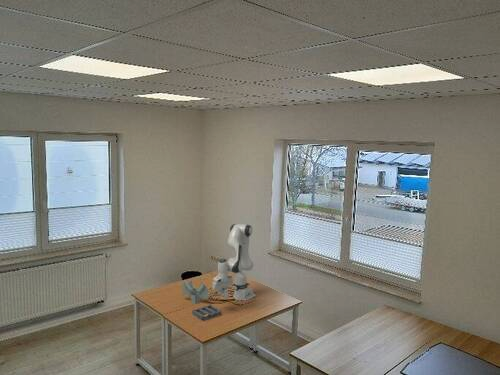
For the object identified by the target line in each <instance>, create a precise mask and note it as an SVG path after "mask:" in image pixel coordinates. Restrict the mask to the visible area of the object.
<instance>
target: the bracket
mask: <svg viewBox="0 0 500 375" xmlns="http://www.w3.org/2000/svg"><path fill="white" fill-rule="evenodd" d="M181 285H182V290H181V291H182V293H181V294H182V295H183V296H187V297H190V304H194V305H195V304H199V303H201V301H202V300H203V299H204V300H209V291H208V290H209V288H208V287H207V286H206V285H205V284H204V282H202V281H201V282H200V285H199V286H198V287H196V286H194V284H193V281H192V280H190V281H188V280H186V281H184V282H182V284H181Z"/></svg>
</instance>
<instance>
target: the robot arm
mask: <svg viewBox="0 0 500 375" xmlns="http://www.w3.org/2000/svg"><path fill="white" fill-rule="evenodd" d="M229 228H230V229H229V231H230V233H229V235H228V239H227V245H228V247H230V248H231V249H232V250H233V251H236V254H235V257H230V258H228V259H227V258H221V259H219V260H218V261H217V262H218V263H217V272H218V273H217V275H216V276H215V277H213V278H212V287H211V288H212V290H213V291H218V290H219V291H220V293H222V291H221V289H222V288H226V289H228V287H229V288H230V287H232V286H234V287H233V288H234V291H233V297H234V298H235V299H234V298H233V297H232V298H233V299H234V300H236V301H245V302H246V301H249V300H250V299H252V298H255V297H256V293H254V290H253V289H252V288H251V287H250V283H249V282H247V275H246V274H245V273H244V272H243V271H246V272H247V271H252V270H253V268H254V261H253V260H252V258H250V255H249V246H250V237H251V235H252V234H253V227H252V225H250V224H243V223H238V224H237V223H234V224H231V226H230V227H229ZM228 273H233V275H229V274H228ZM233 276H234V279H233Z"/></svg>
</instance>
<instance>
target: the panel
mask: <svg viewBox="0 0 500 375" xmlns="http://www.w3.org/2000/svg"><path fill="white" fill-rule="evenodd" d="M221 291H222V293H220V291H219V290H217V293H218V295H219V296H221V297H224V298H226V299H228V298H229V289H228V288H227V289H226V288H222V289H221Z"/></svg>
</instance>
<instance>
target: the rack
mask: <svg viewBox="0 0 500 375" xmlns="http://www.w3.org/2000/svg"><path fill="white" fill-rule="evenodd" d="M192 315H193V316H195V317H196V318H197V319H199V320H200V321H201V322H205V321H207V320H210V319H213V318H216V317H219V316H222V310H221V309H219V308H218V307H215V306H214V305H212V304H208V305H205V306H202V307H199V308H195V309H193V310H192Z"/></svg>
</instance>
